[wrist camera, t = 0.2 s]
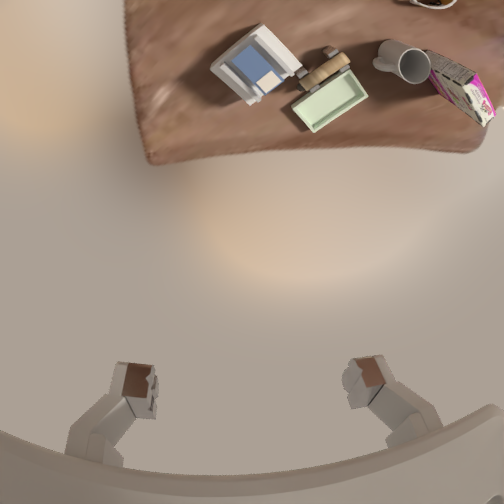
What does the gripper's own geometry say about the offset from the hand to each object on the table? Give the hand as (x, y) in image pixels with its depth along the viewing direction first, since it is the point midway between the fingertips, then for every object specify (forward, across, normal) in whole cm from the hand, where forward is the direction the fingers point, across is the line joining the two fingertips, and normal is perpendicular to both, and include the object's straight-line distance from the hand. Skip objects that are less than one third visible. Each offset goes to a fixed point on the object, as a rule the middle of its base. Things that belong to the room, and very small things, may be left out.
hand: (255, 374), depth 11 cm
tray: (+50, -19, -12) cm, 55 cm away
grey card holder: (+48, -4, -17) cm, 52 cm away
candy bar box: (+46, -42, -24) cm, 67 cm away
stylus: (+44, -16, -16) cm, 50 cm away
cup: (+46, -29, -24) cm, 60 cm away
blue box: (+41, -4, -14) cm, 43 cm away
